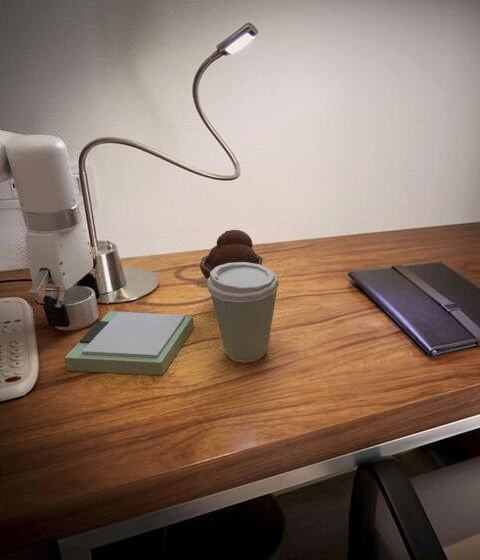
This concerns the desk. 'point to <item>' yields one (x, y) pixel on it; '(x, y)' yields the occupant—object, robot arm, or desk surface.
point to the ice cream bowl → (230, 251)
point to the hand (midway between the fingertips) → (75, 311)
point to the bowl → (79, 307)
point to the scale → (131, 343)
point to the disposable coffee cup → (243, 307)
